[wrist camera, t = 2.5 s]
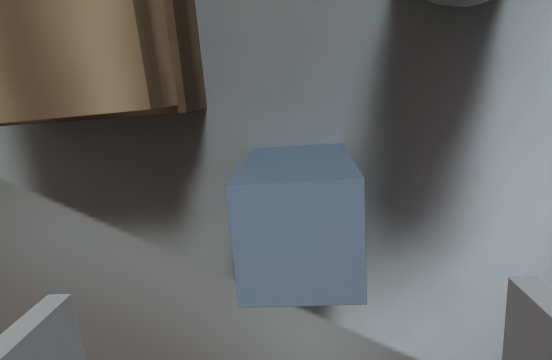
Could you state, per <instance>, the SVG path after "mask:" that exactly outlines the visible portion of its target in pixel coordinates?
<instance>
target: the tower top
mask: <svg viewBox="0 0 552 360" xmlns="http://www.w3.org/2000/svg"><path fill="white" fill-rule="evenodd" d="M175 105H178V98H177V92H176V85H175V78H174V72H173V65H172V58H171V52H170V45H169V38H168V32H167V25H166V18H165V12H164V5H163V0H0V123H9V122H20V121H31V120H42V119H52V118H63V117H74V116H85V115H95V114H106V113H117V112H127V111H138V110H149V109H156V108H162V107H169V106H175Z"/></svg>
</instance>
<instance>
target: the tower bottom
mask: <svg viewBox="0 0 552 360" xmlns="http://www.w3.org/2000/svg"><path fill="white" fill-rule="evenodd" d="M163 5H164V12H165V18H166V25H167V32H168V38H169V45H170V52H171V58H172V65H173V72H174V78H175V85H176V92H177V98H178V105H175V106H169V107H162V108H156V109H149V110H138V111H127V112H117V113H106V114H95V115H85V116H74V117H63V118H52V119H42V120H31V121H20V122H9V123H0V126H7V125H21V124H35V123H49V122H63V121H77V120H91V119H105V118H119V117H132V116H146V115H160V114H174V113H187V112H191V111H195V110H200V109H204V108H207V104H206V95H205V87H204V78H203V69H202V61H201V52H200V43H199V35H198V26H197V17H196V8H195V0H163Z"/></svg>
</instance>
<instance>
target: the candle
mask: <svg viewBox="0 0 552 360" xmlns="http://www.w3.org/2000/svg"><path fill="white" fill-rule="evenodd" d="M427 1H429V2H432V3H435V4H438V5H441V6H461V7H469V6H473V5H477V4H482V3H485V2H487V1H489V0H427Z"/></svg>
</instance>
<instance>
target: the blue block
mask: <svg viewBox="0 0 552 360" xmlns="http://www.w3.org/2000/svg"><path fill="white" fill-rule="evenodd" d="M225 187H226V196H227V205H228V214H229V224H230V233H231V242H232V252H233V261H234V270H235V279H236V287H237V288H236V289H237V298H238V307H239V308H249V307H282V306H283V307H285V306H286V307H288V306H326V305H365V304H367V281H366V228H365V178H364V177H363V175H362V173H361V172H360V170H359V169H358V167H357V166H356V164H355V163H354V161H353V160H352V158H351V156H350V155H349V153H348V152H347V150H346V149H345V147H344V146H343V144H342V143H336V144H320V145H304V146H288V147H271V148H255V149H253V151H252V152H251V153H250V155H249V156H248V157H247V158H246V160H245V161H244V162H243V164H242V165H241V166H240V167H239V169H238V170H237V171H236V173H235V174H234V175H233V176H232V178H231V179H230V180H229V182H228V183H227V184H226V186H225Z"/></svg>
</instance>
